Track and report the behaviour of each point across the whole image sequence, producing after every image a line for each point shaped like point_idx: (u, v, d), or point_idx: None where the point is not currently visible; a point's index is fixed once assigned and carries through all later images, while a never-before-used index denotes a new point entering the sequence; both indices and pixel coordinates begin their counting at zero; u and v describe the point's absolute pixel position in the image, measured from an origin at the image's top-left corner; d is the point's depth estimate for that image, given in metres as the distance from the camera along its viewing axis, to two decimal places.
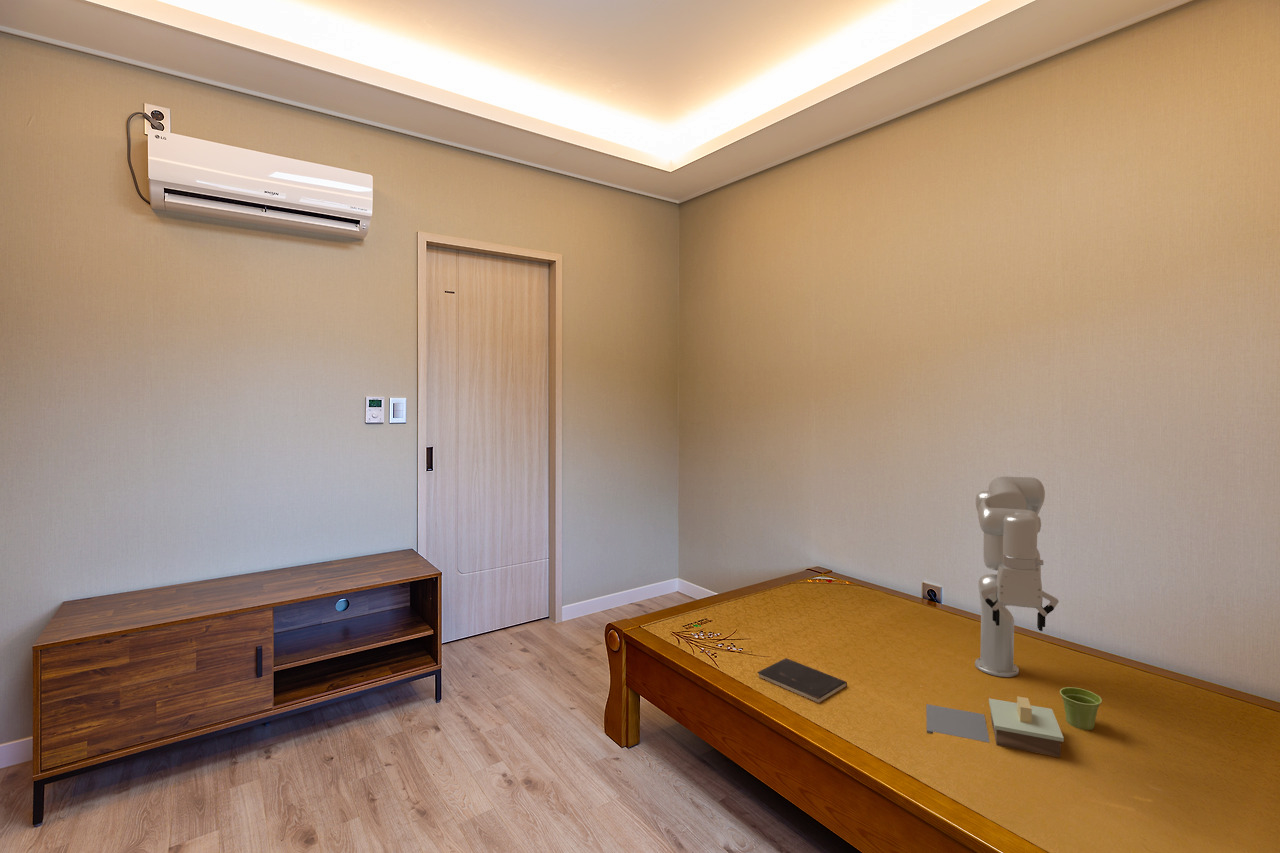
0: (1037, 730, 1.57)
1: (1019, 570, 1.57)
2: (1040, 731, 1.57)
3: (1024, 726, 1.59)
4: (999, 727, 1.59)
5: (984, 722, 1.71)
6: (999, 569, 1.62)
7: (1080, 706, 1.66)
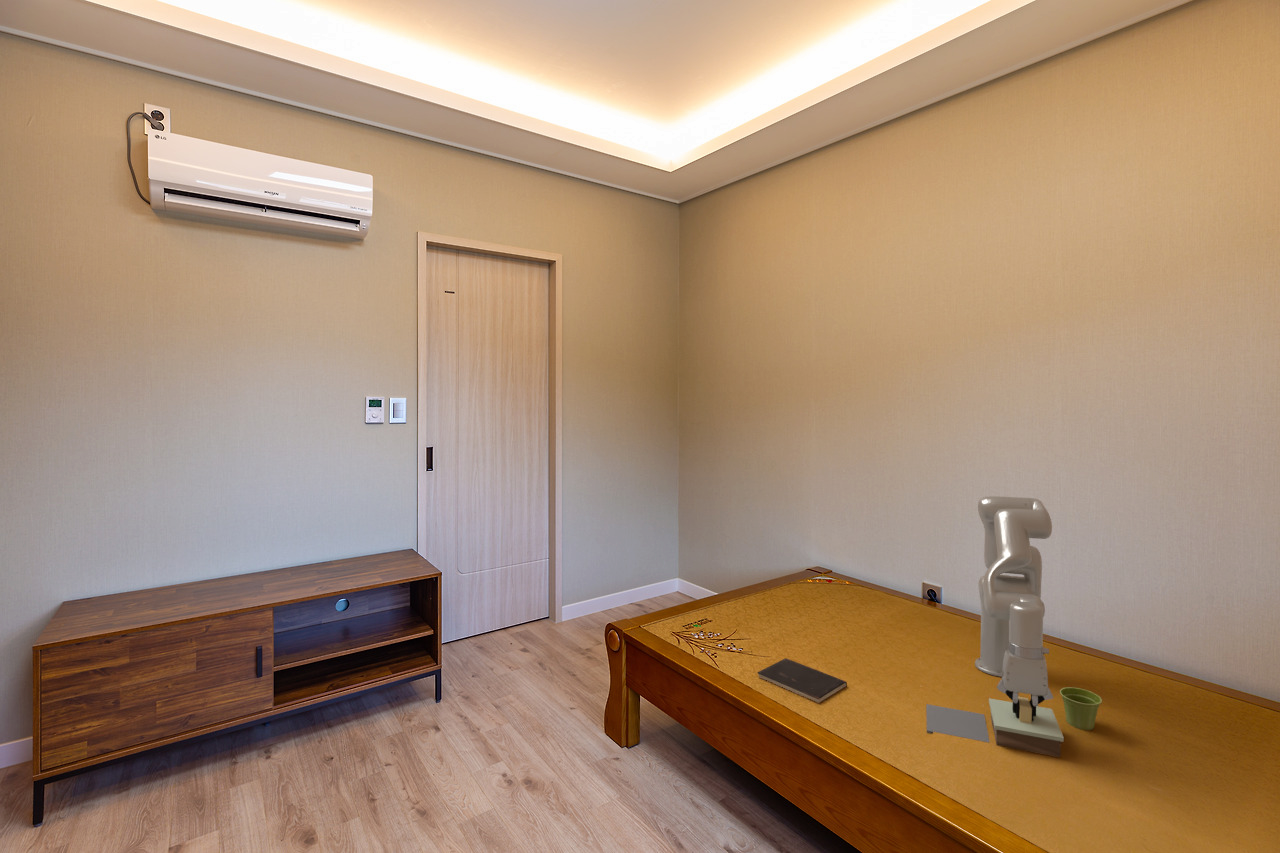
0: (1037, 730, 1.57)
1: (1025, 659, 1.59)
2: (1040, 731, 1.57)
3: (1024, 726, 1.59)
4: (999, 727, 1.59)
5: (984, 722, 1.71)
6: (1005, 655, 1.64)
7: (1080, 706, 1.66)
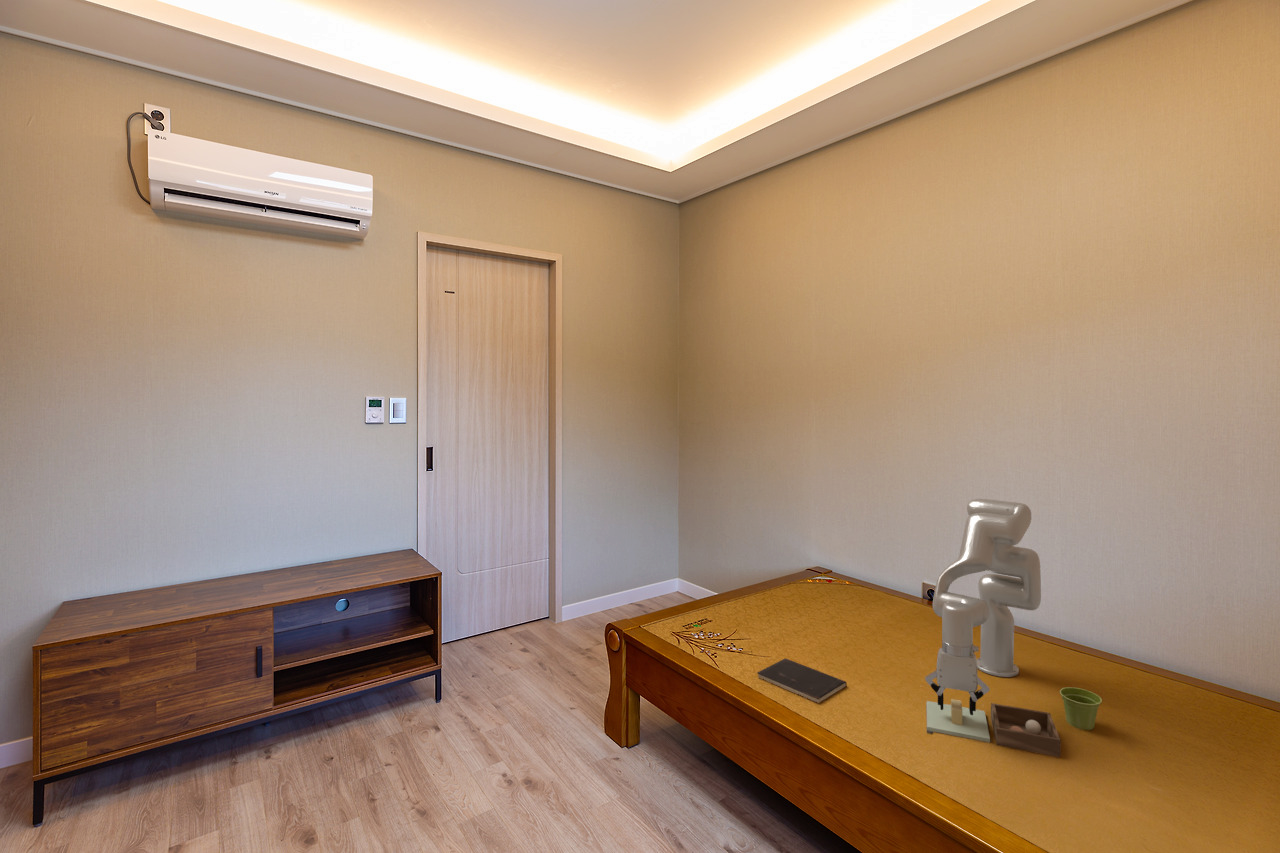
0: (966, 731, 1.65)
1: (956, 657, 1.67)
2: (969, 732, 1.64)
3: (954, 727, 1.67)
4: (931, 728, 1.67)
5: None
6: (938, 653, 1.72)
7: (1080, 706, 1.66)
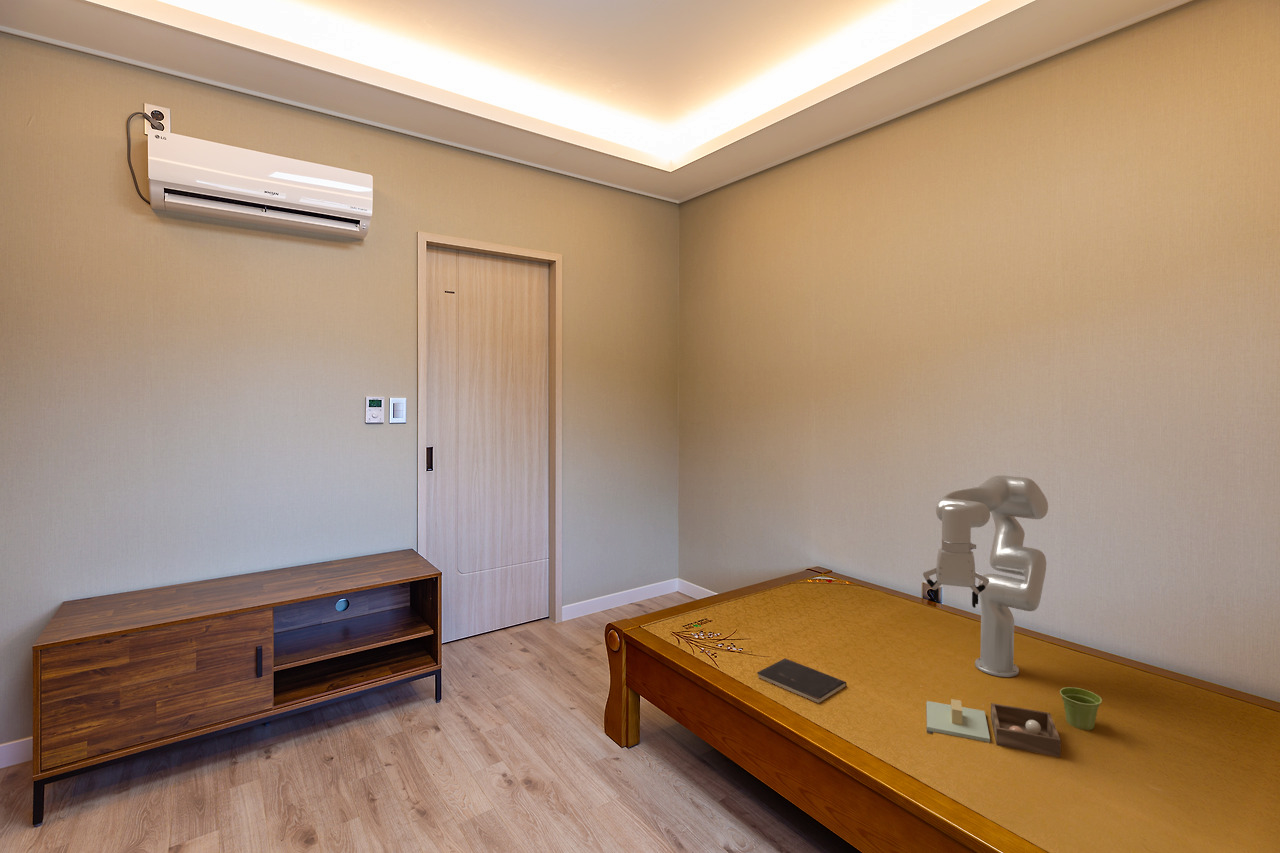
0: (966, 731, 1.65)
1: (955, 553, 1.76)
2: (969, 732, 1.64)
3: (954, 727, 1.67)
4: (931, 728, 1.67)
5: None
6: (938, 553, 1.81)
7: (1080, 706, 1.66)
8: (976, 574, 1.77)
